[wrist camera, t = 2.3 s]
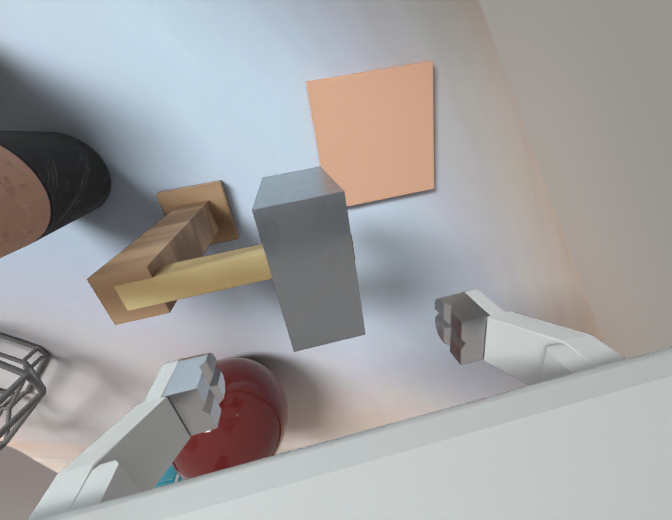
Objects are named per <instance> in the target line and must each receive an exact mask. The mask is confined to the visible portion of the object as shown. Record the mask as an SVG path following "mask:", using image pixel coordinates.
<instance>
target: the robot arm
mask: <svg viewBox="0 0 672 520" xmlns="http://www.w3.org/2000/svg"><path fill="white" fill-rule="evenodd" d="M435 309H436V310H437V311H438V312H439V313H438V315H437V316H436V318H435V324H436V329H437V332H438V334H439V336H440V338H441V340H442V341H443V342H444V343H445V344H448V345H450V352H451V353H452V354H453V356H454V357H455V358H456V360H457V361H458V362H459V363H460V365H462V364H466V363H470V362H475V361H479V360H483V359H484V361H486V362H488V363H489V364H491V365H493V366H495V367H497V368H498V369H500V370H502V371H504V372H506V373H508V374H509V375H511V376H513V377H515V378H517V379H519V380H520V381H522V382H524V383H526V384H528V385H529V386H526V387H523V388H519V389H515V390H512V391H508V392H504V393H501V394H497V395H494V396H490V397H486V398H483V399H479V400H475V401H472V402H468V403H464V404H461V405H457V406H453V407H450V408H446V409H442V410H439V411H435V412H431V413H428V414H424V415H420V416H416V417H413V418H409V419H405V420H402V421H398V422H394V423H391V424H387V425H383V426H380V427H376V428H372V429H369V430H365V431H361V432H358V433H354V434H351V435H347V436H343V437H340V438H336V439H332V440H329V441H325V442H321V443H318V444H314V445H310V446H307V447H303V448H299V449H296V450H292V451H288V452H285V453H281V454H277V455H274V456H270V457H266V458H263V459H259V460H255V461H252V462H248V463H244V464H241V465H237V466H233V467H230V468H226V469H222V470H219V471H215V472H211V473H208V474H204V475H200V476H197V477H193V478H190V479H186V480H182V481H179V482H175V483H171V484H168V485H164V486H160V487H157V488H154V487H155V486H156V485H157V483H158V482H159V480H160V479H161V478H162V476H163V475H164V474H165V472H166V471H167V469H168V468H169V467H170V465H171V464H172V462H173V461H174V460H175V458H176V457H177V456H178V454H179V453H180V451H181V450H182V449H183V447H184V446H185V445H186V443H187V442H188V440H189V439H190V438H191V437H190V436H192V435H196V434H199V433H202V432H206V431H209V430H213V429H216V428H217V427H218V423H219V418H220V414H221V408H220V406H219V404H220V402H221V401H222V400H223V399H224V395H225V381H224V376H223V374H222V372H221V370H219V369H217V368H215V366H216V362H217V361H216V359H215V357H214V355H213V354H212V353H206V354H202V355H197V356H193V357H188V358H183V359H180V360H175V361H171V362H167V363H165V364H164V365H163V366H162V368H161V370H160V372H159V374H158V375H157V377H156V379H155V381H154V383H153V385H152V387H151V389H150V391H149V393H148V395H147V397H146V399H145V401H144V402H142V403H139V404H138V405H137V406H135V407H134V408H133V409H132V410H131V411H130V412H128V413H127V414H126V415H125V416H124V417H123V418H122V419H120V420H119V421H118V422H117V423H116V424H115V425H114V426H112V427H111V428H110V429H109V430H108V431H107V432H105V433H104V434H103V435H102V436H101V437H100V438H99V439H97V440H96V441H95V442H94V443H93V444H92V445H91V446H89V447H88V448H87V449H86V450H85V451H84V452H83V453H81V454H80V455H79V456H78V457H77V458H76V459H74V460H73V461H72V462H71V463H70V464H69V465H68V466H66V467H65V468H64V469H63V470H62V471H61V472H60V473H58V474H57V476H56V478H55V479H54V481H53V482H52V484H51V485H50V487H49V488H48V490H47V491H46V493H45V495H44V496H43V498H42V499H41V501H40V502H39V504H38V505H37V507H36V508H35V510H34V511H33V513H32V514H31V516H30V518H29V519H28V520H672V347H669V348H665V349H662V350H658V351H655V352H651V353H647V354H644V355H640V356H636V357H633V358H629V359H626V358H625V357H623V356H622V355H620V354H619V353H617V352H616V351H614V350H613V349H611V348H610V347H609V346H607V345H606V344H604V343H603V342H601V341H600V340H598V339H597V338H595V337H594V336H592V335H590V334H587V333H583V332H580V331H576V330H573V329H569V328H566V327H563V326H559V325H556V324H552V323H549V322H545V321H542V320H538V319H535V318H531V317H528V316H525V315H521V314H518V313H514V312H511V311H509V312H505V311H504V310H503V309H501V308H500V307H499V306H498V305H496V304H495V303H494V302H493V301H491V300H490V299H489V298H488V297H486V296H485V295H484V294H483V293H482V292H480V291H479V290H477V289H472V290H468V291H464V292H462V293H458V294H454V295H450V296H446V297H442V298H438V299H436V301H435Z"/></svg>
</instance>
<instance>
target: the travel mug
mask: <svg viewBox="0 0 672 520" xmlns="http://www.w3.org/2000/svg"><path fill="white" fill-rule="evenodd" d="M110 188H111V181H110V176H109V172H108V170H107V168H106V166H105V164H104V162H103V161H102V159H101V158H100V157H99V156H98V154H97V153H96V152H95V151H94V150H93V149H91V148H90V147H89V146H88V145H86V144H85V143H83V142H81V141H79V140H78V139H76V138H73V137H71V136H68V135H65V134H60V133H53V132H23V131H0V258H1V257H3V256H6V255H8V254H10V253H12V252H14V251H16V250H18V249H21V248H23V247H25V246H27V245H29V244H31V243H33V242H35V241H37V240H39V239H41V238H42V237H44V236H46V235H48V234H50V233H52V232H54V231H56V230H58V229H59V228H61V227H63V226H65V225H67V224H69V223H71V222H73V221H75V220H76V219H78V218H80V217H82V216H84V215H86V214H88V213H90V212H91V211H93V210H95V209H97V208H98V207H99V206H101V205H102V204H103V203H104V202H105V200H106V199H107V197H108V195H109V193H110Z"/></svg>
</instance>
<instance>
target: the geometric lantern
mask: <svg viewBox="0 0 672 520" xmlns="http://www.w3.org/2000/svg"><path fill="white" fill-rule="evenodd" d="M0 338H3V339H6V340H9V341H12V342H15V343H18V344H21V345H24V346H27V347H30V348H34V350H32V351H31V352H30V353H29V354H28V355H27V356H26V357H24V358H23V359H22V360H21V359H18V358H16V357H13V356H10V355H7V354H4V353H1V352H0V357H3V358H6V359H8V360H11V361H14V362H17V363H20V364H23V368H24V370H23V369H20V368H18V367H16V366H13V365H11V364H8V363H6V362H3V361H1V360H0V368H2V369H5V370H7V371H10V372H12V373H15V374H17V375H20V376H21V377H20V378H19V379H18V380H17V381H16V382H15V383H13V384H12V385H11V386H10V387H9V388H8V389H7V390H6V391H5V390H2V389H0V393H2V395H1V396H0V405H1V404H2V403H3V402H4V401H5V400H6V399H7V398H8V397H9V396H12V397H11V398H10V399H9V400H8V401H6V402H5V403H4V404H3V405H2V406H0V416H1V414H2V412H3V411H4V410H7V414H6V424H5V425H4V426H3V427H2V428H1V429H0V438H1V437H2V436H3V435H4V434H5V435H4V440H3V441H1V442H0V451H1V450H2V449H3V448H4V447H5V446H6V445H7V444H8V443H9V441H10V440H11V439H12V437H13V436H14V435H15V433H16V432H17V431H18V429H19V428H20V427H21V425H22V424H23V423H24V422H25V420H26V419H27V418H28V416H29V415H30V414H31V412H32V411H33V410H34V408H35V407H36V406H37V404H38V403H39V402H40V400H41V399H42V398H43V396H44V395H45V394H46V387H45V386H44V384H43V382H42V381H41V379H40V378H39V376H38V374H39V372H40V370H41V368H42V366H43V365H44V363H45V361H46V359H47V357H48V355H49V354H48V353H47V352H46V351H44V350H43V349H42V348H41V347H40V346H36V345H33V344H30V343H27V342H24V341H21V340H18V339H16V338H13V337H10V336H7V335H4V334H1V333H0ZM37 351H39V352H40V353H42V354H43V355H44V356H40V357H39V358H38V359H37V360H36V361H34V362H33V363H32V364H31V365H30V364H29V362H28V361H27V360H28V359H29V358H30V357H31V356H32V355H33V354H34V353H36V352H37ZM40 361H41V362H40ZM39 362H40V364H39V366H38V368H37V370H36V371H35V370H34V368H33V367H34V366H35V365H37V364H38V363H39ZM26 380H27V381H28V382H29V385H28V386H27V388H26V390H25V391H24V392H21V393H20V391H21V389H22V387H23V385H24V383H25V381H26ZM32 386H33V387H34V388H35V389H36V390H37V391H38V392H39V393H38V394H37V395H36V396H35V397H34V398H33V399H32V400H31V401H30V402H29V403H28V404H27V405H26V406H25V407H23V408H22V409H21V410H20V411H19V412H18V413H17V414H16V415H15V416H14V417H13V418H12V419H11V411H12V408H13V407H14V406H15V405H16V404H17V403H18V402H19V401H20V399H21V398H22V397H23V396H24V395H25V394H27V393H29V390H30V389H31V387H32ZM16 389H17V390H16ZM15 390H16V392H15V393H13V392H14V391H15ZM17 397H18V398H17ZM9 403H10V404H9ZM8 404H9V405H8ZM7 405H8V406H7ZM16 422H17V423H16ZM15 423H16V424H15ZM14 424H15V425H14ZM13 425H14V427H13V428H12V429H11V431H10V428H11V427H12V426H13Z"/></svg>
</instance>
